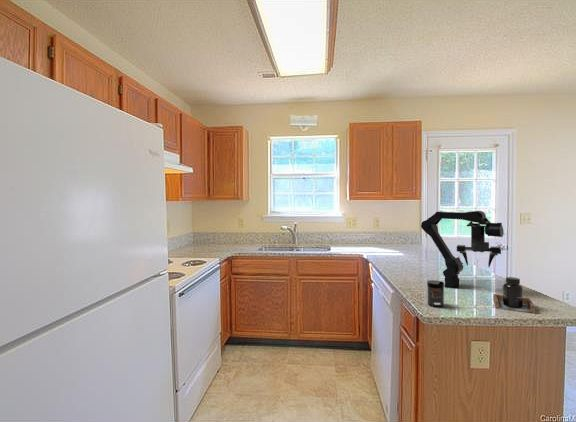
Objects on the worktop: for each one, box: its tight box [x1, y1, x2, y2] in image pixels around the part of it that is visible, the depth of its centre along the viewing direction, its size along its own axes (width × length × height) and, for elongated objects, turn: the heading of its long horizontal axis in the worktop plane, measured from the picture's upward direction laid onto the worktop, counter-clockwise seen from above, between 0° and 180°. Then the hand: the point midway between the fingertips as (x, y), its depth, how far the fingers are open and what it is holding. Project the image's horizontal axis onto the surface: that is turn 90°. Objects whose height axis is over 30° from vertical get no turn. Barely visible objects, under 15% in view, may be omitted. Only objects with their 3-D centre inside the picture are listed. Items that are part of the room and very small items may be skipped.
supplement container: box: [426, 279, 445, 308], centre depth 131 cm, size 7×7×10 cm
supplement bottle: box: [502, 276, 524, 308], centre depth 127 cm, size 7×7×12 cm
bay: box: [492, 293, 536, 315], centre depth 127 cm, size 13×12×3 cm
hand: (478, 266), depth 149 cm, fingers open, 9 cm apart
